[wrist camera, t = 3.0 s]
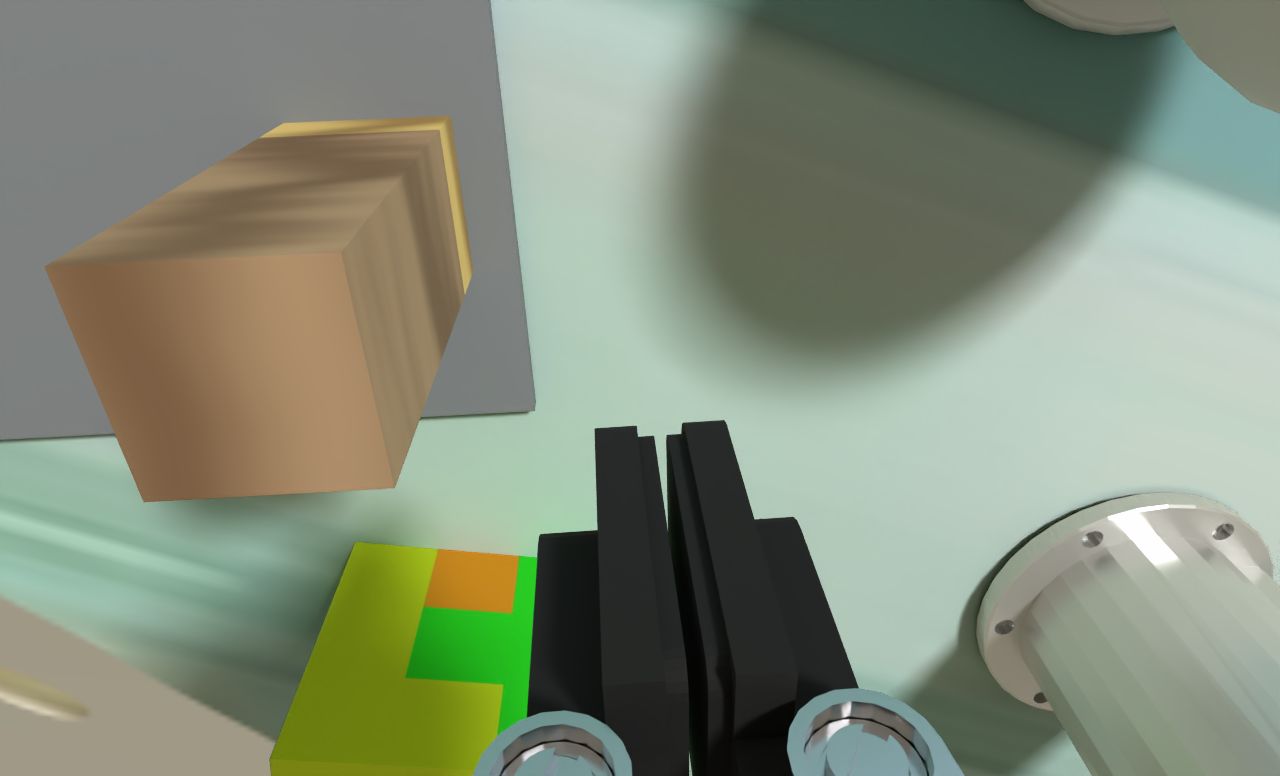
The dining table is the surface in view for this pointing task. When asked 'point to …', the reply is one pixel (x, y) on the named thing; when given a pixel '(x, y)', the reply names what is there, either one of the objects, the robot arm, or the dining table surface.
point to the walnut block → (277, 311)
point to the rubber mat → (214, 129)
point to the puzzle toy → (413, 665)
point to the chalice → (1194, 34)
